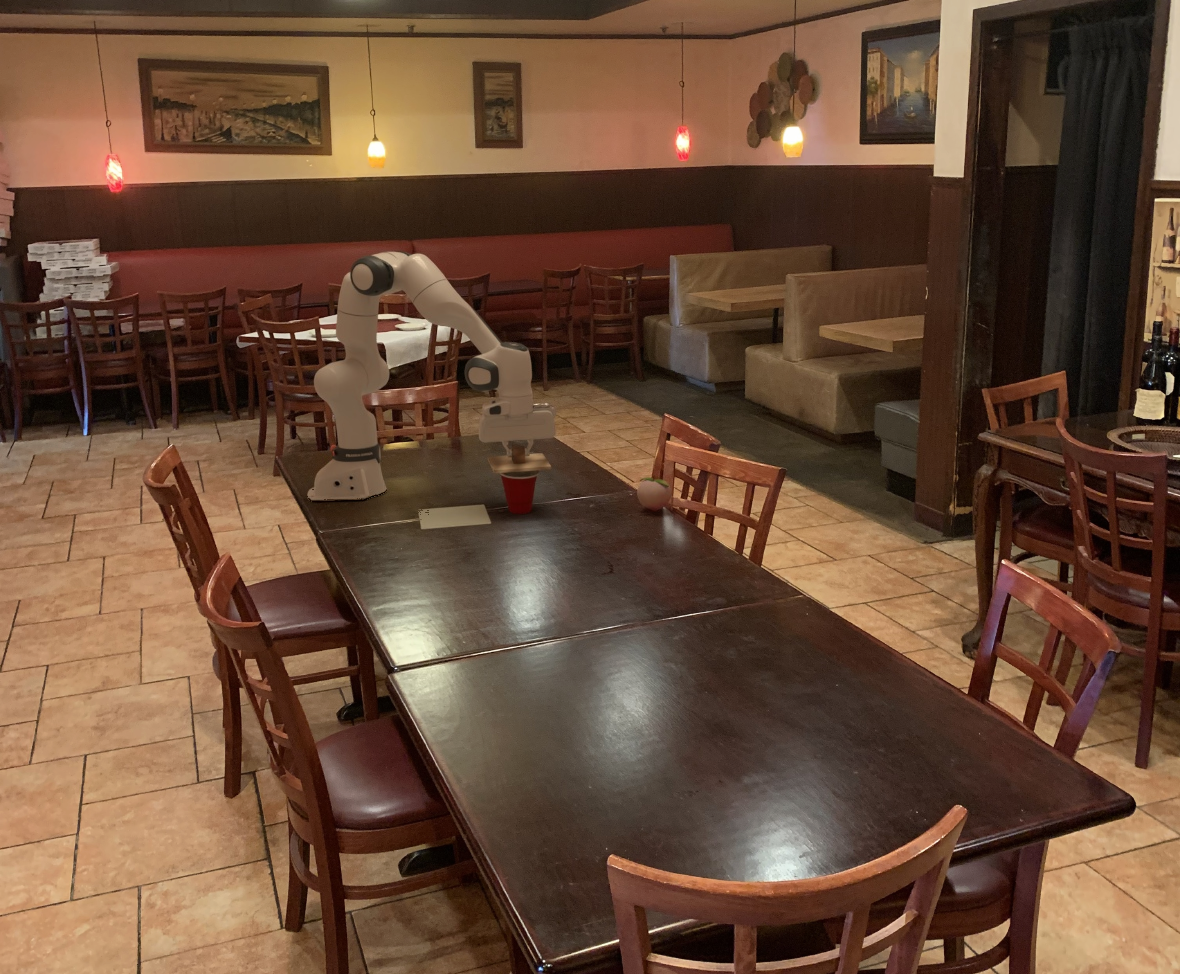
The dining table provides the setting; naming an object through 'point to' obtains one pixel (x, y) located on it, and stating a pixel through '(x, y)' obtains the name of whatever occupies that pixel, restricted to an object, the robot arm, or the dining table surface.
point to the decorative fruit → (654, 493)
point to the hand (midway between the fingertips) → (518, 456)
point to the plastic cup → (519, 490)
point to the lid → (518, 461)
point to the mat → (454, 516)
